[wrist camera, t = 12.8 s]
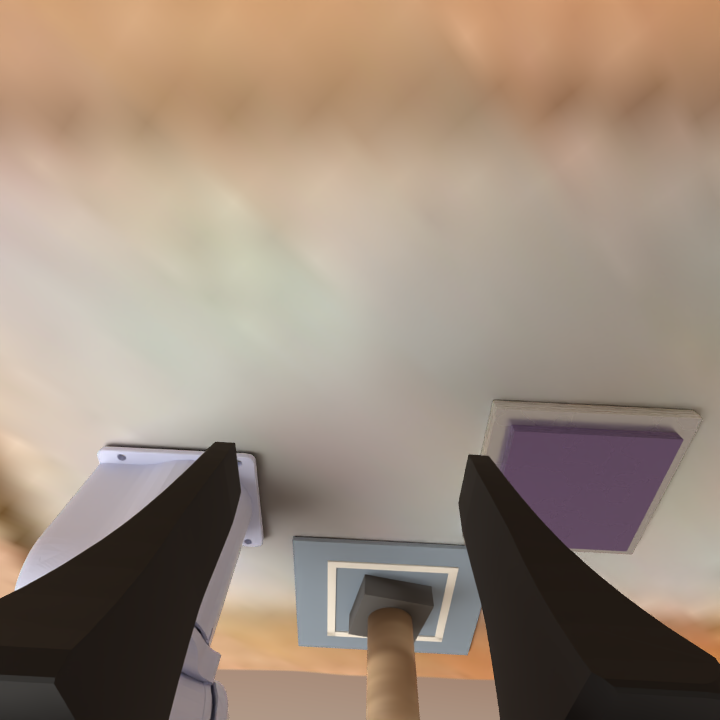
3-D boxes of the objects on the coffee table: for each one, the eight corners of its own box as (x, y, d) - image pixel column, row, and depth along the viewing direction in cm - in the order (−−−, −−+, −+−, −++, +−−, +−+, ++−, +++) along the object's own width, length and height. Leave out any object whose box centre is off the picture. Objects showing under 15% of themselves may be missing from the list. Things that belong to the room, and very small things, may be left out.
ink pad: (462, 535, 29) (466, 553, 28) (493, 400, 24) (499, 415, 22) (625, 543, 29) (636, 562, 27) (693, 409, 23) (710, 425, 22)
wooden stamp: (349, 613, 33) (343, 735, 26) (364, 574, 31) (362, 696, 24) (411, 624, 33) (420, 746, 27) (431, 586, 31) (446, 709, 24)
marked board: (299, 642, 36) (298, 647, 35) (293, 536, 29) (292, 541, 29) (466, 651, 36) (467, 656, 35) (496, 547, 29) (498, 552, 29)
